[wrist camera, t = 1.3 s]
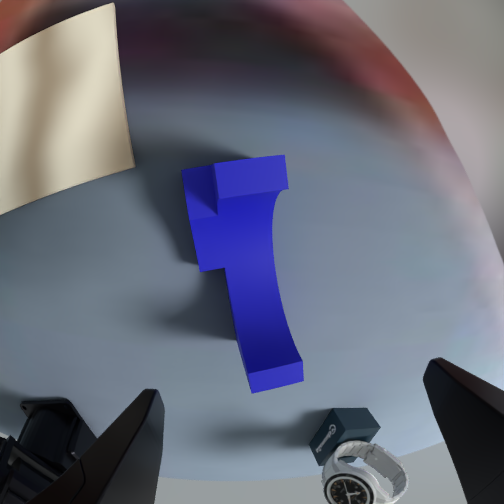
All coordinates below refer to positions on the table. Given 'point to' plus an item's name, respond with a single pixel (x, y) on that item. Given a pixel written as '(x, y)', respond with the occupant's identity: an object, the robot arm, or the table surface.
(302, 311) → the table surface
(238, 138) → the table surface
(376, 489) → the watch
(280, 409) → the table surface
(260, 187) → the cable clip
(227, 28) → the table surface
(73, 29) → the pad
